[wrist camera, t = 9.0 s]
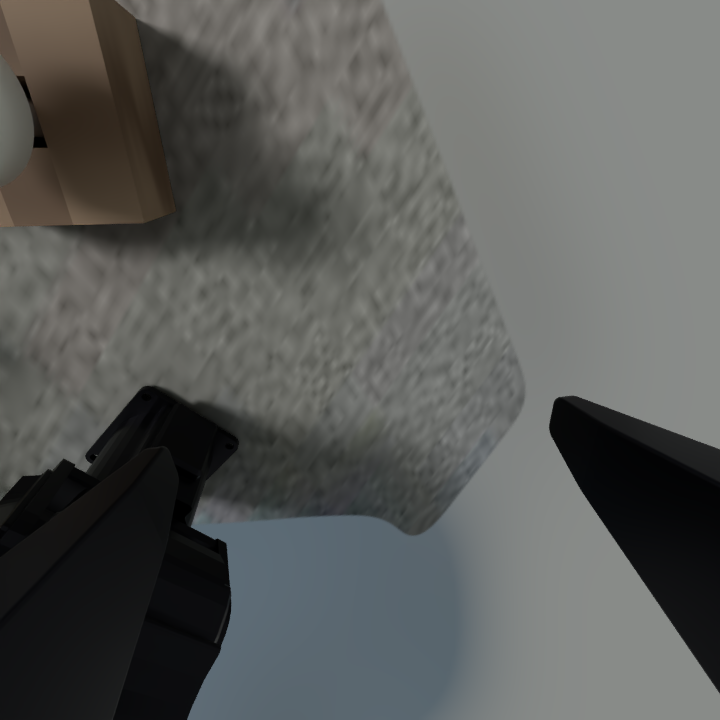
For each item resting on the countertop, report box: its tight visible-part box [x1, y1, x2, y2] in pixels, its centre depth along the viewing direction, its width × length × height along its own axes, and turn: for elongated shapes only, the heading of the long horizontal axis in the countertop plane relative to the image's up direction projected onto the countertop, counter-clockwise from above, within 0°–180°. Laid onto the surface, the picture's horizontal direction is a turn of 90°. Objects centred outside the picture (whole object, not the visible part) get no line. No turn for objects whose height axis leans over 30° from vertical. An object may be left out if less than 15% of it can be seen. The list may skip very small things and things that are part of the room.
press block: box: [0, 0, 176, 227], centre depth 14 cm, size 7×7×4 cm
